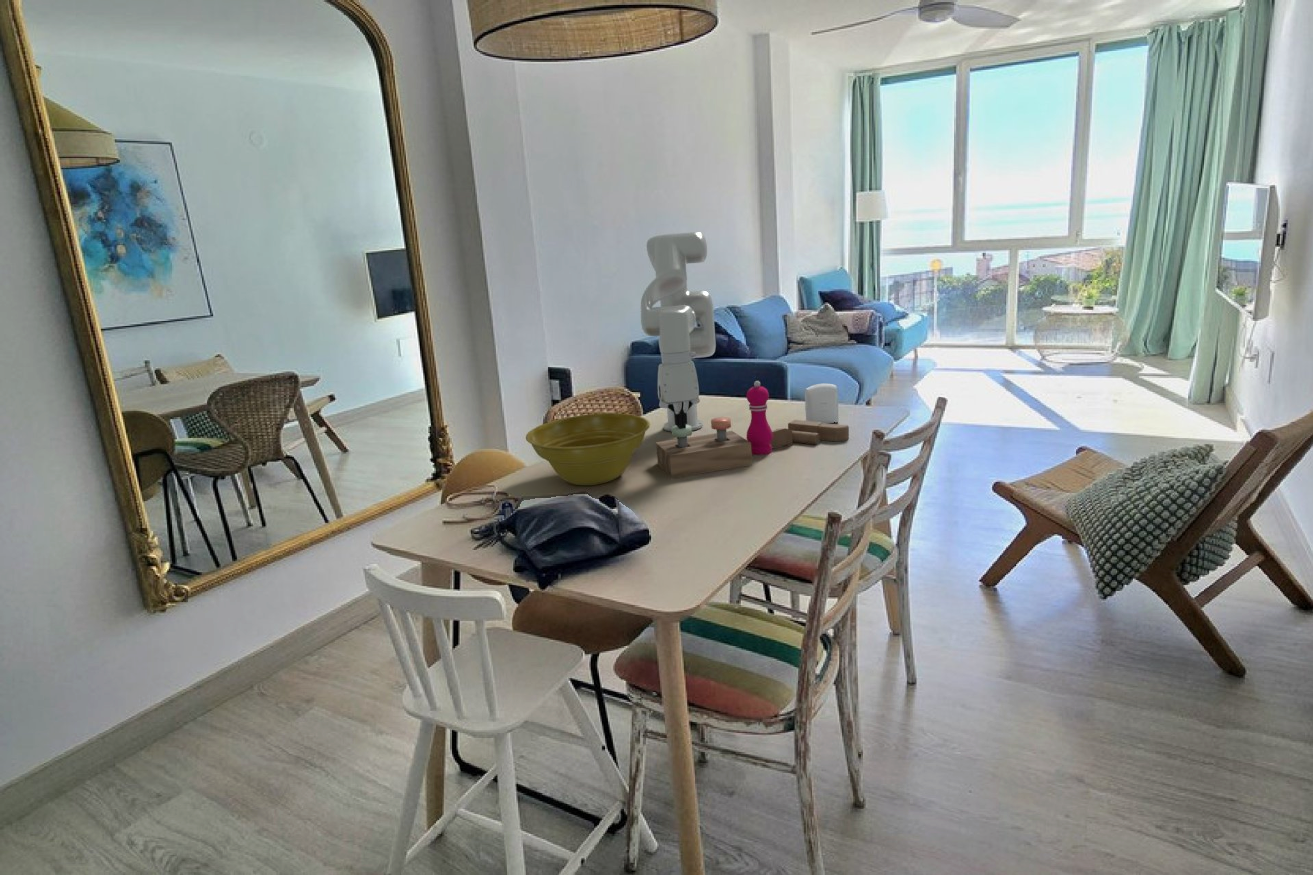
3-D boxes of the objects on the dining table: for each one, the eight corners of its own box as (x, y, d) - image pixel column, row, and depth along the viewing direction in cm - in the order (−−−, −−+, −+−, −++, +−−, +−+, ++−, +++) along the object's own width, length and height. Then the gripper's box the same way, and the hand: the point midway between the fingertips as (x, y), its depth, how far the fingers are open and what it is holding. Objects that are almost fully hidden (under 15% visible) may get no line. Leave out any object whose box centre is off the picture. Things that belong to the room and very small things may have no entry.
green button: (671, 453, 201) (669, 426, 199) (689, 450, 202) (687, 423, 200) (676, 458, 196) (674, 430, 194) (695, 455, 197) (693, 428, 195)
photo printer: (808, 427, 229) (807, 387, 226) (803, 423, 233) (802, 384, 230) (840, 423, 230) (840, 383, 227) (835, 419, 234) (834, 381, 231)
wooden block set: (791, 415, 223) (849, 421, 212) (792, 434, 224) (849, 440, 214) (764, 430, 210) (824, 436, 199) (764, 449, 211) (824, 456, 201)
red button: (710, 445, 203) (708, 419, 201) (728, 443, 205) (726, 416, 203) (716, 450, 199) (714, 423, 197) (734, 447, 200) (733, 420, 198)
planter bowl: (589, 507, 176) (583, 452, 173) (507, 484, 198) (500, 436, 194) (679, 469, 199) (675, 420, 195) (596, 452, 220) (591, 408, 217)
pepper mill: (772, 455, 204) (769, 383, 199) (746, 455, 206) (742, 384, 200) (774, 447, 211) (771, 377, 206) (748, 448, 212) (744, 378, 207)
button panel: (657, 463, 205) (655, 442, 204) (733, 451, 211) (732, 430, 209) (671, 478, 192) (670, 455, 191) (752, 464, 197) (750, 443, 196)
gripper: (699, 352, 198) (703, 420, 202) (644, 359, 194) (650, 428, 199) (708, 356, 191) (713, 426, 195) (651, 363, 187) (657, 434, 192)
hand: (681, 427), depth 197 cm, fingers closed
